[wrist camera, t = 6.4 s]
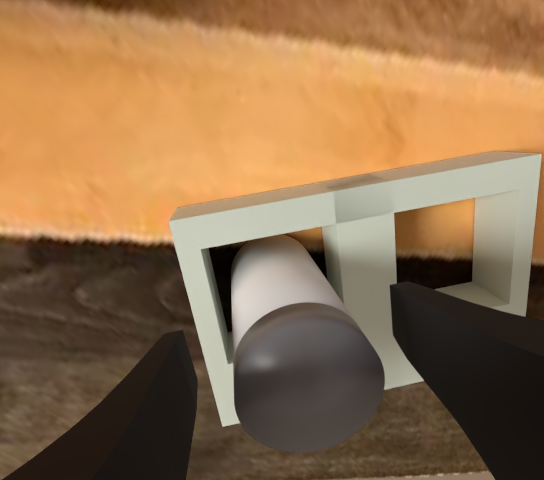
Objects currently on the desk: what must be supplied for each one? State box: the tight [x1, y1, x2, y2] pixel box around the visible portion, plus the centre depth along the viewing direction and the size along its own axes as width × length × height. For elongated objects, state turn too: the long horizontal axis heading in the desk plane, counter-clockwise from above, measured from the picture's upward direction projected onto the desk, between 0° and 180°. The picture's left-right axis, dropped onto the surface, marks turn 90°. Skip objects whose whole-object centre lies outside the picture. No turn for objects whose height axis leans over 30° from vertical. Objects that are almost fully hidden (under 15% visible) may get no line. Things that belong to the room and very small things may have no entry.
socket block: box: [169, 151, 542, 427], centre depth 16 cm, size 15×10×3 cm, turn 99°
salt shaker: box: [231, 234, 385, 453], centre depth 12 cm, size 4×4×8 cm
